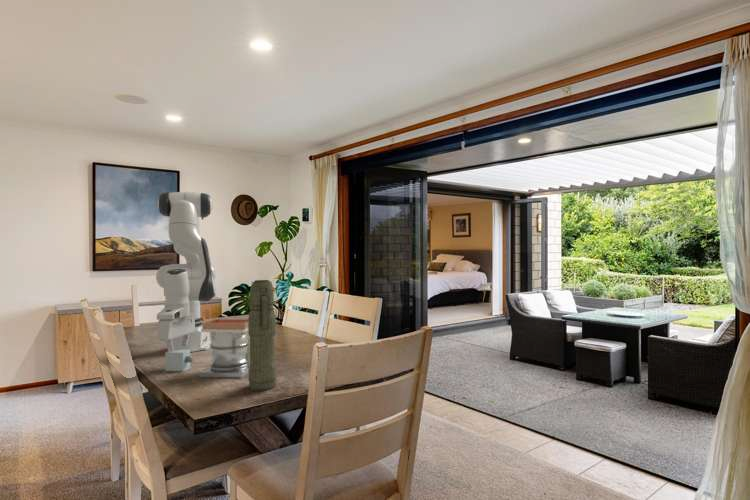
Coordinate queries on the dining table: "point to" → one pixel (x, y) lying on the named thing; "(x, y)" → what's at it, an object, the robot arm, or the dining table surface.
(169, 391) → the dining table surface
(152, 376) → the dining table surface
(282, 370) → the dining table surface
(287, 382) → the dining table surface
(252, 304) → the thermos
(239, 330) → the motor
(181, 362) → the pale grey rectangular block
